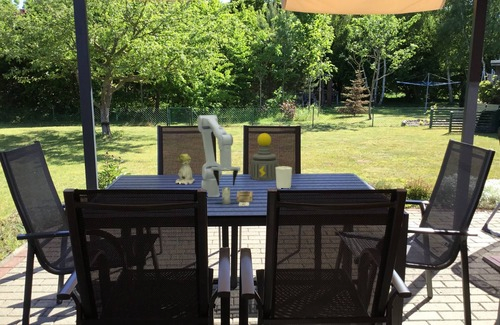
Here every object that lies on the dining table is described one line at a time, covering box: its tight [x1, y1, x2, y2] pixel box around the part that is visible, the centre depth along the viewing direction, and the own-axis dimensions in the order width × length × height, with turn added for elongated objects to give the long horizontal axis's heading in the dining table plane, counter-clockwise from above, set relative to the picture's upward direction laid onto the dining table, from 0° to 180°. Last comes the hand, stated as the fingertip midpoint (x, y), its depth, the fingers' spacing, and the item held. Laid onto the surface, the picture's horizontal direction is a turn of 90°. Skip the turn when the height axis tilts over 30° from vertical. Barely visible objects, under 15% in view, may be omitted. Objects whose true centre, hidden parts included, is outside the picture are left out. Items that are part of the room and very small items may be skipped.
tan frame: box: [236, 190, 254, 203], centre depth 220 cm, size 8×14×2 cm, turn 179°
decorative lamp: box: [249, 132, 280, 182], centre depth 274 cm, size 19×19×30 cm
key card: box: [238, 202, 250, 207], centre depth 208 cm, size 5×6×1 cm
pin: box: [221, 186, 231, 205], centre depth 210 cm, size 4×4×8 cm
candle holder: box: [275, 166, 293, 190], centre depth 245 cm, size 10×10×12 cm
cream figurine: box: [175, 153, 195, 185], centre depth 263 cm, size 12×13×18 cm
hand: (226, 185), depth 209 cm, fingers open, 7 cm apart
